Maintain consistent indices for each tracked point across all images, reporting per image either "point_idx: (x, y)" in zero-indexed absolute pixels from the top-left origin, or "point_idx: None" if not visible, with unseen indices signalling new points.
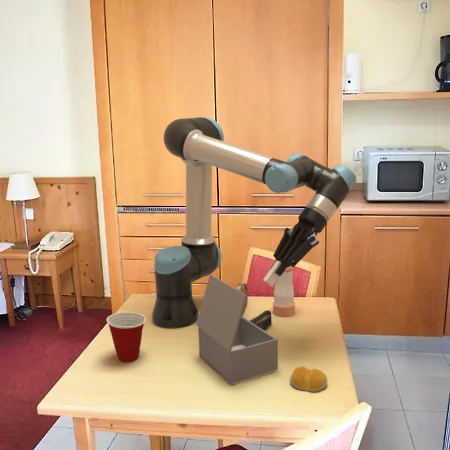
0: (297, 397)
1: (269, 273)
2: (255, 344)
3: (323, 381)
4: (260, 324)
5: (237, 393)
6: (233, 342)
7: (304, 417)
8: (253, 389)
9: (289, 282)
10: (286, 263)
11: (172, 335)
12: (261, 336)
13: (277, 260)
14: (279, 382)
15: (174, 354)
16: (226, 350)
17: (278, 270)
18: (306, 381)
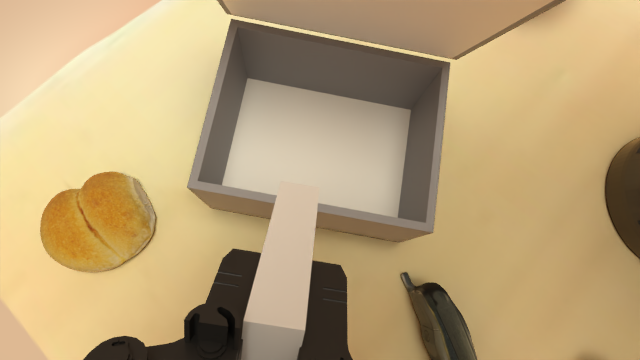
0: (85, 151)
1: (295, 221)
2: (215, 106)
3: (40, 228)
4: (432, 343)
5: (208, 63)
6: (220, 3)
7: (20, 102)
8: (193, 101)
9: None
10: (165, 347)
11: (571, 131)
12: None
13: (314, 349)
14: (167, 169)
15: (466, 71)
16: (256, 25)
17: (233, 271)
18: (78, 191)
